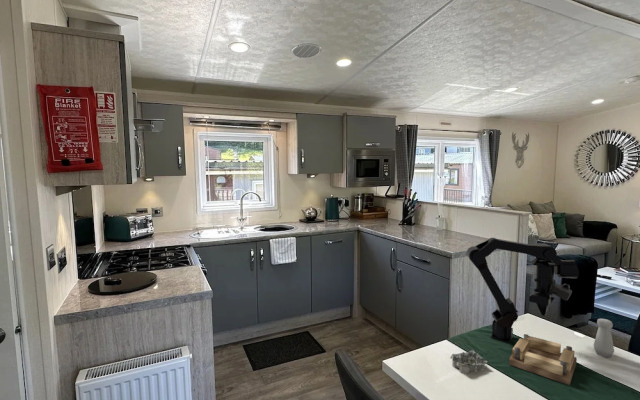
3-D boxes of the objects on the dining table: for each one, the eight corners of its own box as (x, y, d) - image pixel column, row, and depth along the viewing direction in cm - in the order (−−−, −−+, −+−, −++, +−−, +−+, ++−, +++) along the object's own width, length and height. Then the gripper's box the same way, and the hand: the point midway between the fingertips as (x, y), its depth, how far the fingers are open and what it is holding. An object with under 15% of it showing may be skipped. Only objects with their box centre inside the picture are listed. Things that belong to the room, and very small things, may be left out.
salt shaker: (618, 359, 117) (619, 324, 116) (599, 358, 118) (601, 322, 117) (607, 351, 123) (608, 317, 122) (589, 349, 124) (591, 316, 123)
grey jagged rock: (462, 375, 109) (463, 364, 108) (448, 363, 116) (448, 352, 116) (489, 370, 112) (489, 358, 111) (473, 358, 119) (473, 347, 119)
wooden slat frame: (508, 364, 114) (509, 348, 114) (521, 346, 127) (521, 331, 126) (569, 385, 103) (570, 367, 102) (576, 362, 115) (577, 346, 115)
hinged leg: (522, 345, 123) (523, 336, 123) (524, 342, 125) (524, 333, 125) (559, 355, 116) (560, 345, 116) (560, 351, 118) (560, 342, 118)
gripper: (565, 286, 116) (564, 329, 117) (574, 275, 129) (573, 314, 130) (529, 280, 124) (528, 320, 125) (541, 270, 137) (540, 306, 138)
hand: (543, 315), depth 129 cm, fingers closed
